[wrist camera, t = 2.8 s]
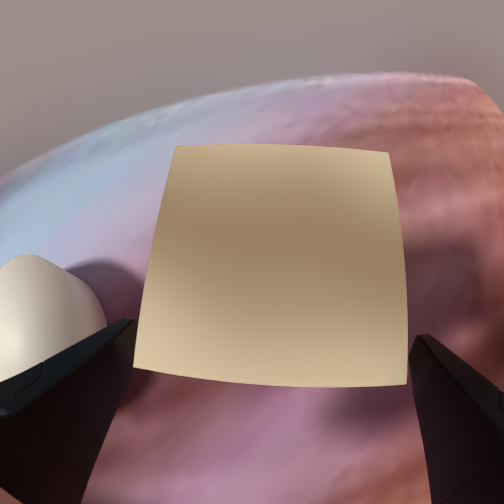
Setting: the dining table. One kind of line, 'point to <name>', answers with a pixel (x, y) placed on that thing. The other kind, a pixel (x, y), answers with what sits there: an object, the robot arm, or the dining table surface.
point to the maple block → (277, 269)
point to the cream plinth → (42, 312)
